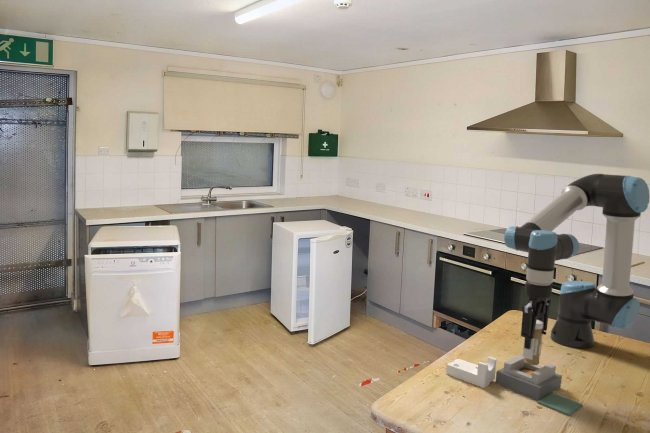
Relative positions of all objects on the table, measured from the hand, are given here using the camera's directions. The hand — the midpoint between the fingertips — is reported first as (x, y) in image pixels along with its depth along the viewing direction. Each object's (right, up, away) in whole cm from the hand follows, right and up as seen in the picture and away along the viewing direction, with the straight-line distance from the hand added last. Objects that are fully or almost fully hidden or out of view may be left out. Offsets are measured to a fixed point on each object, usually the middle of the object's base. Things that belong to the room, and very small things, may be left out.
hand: (531, 355), depth 166 cm
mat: (+4, -11, -10) cm, 16 cm away
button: (-1, -8, +1) cm, 8 cm away
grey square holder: (-1, -9, +1) cm, 10 cm away
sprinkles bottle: (0, -2, 0) cm, 2 cm away
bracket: (-18, -9, +5) cm, 20 cm away
